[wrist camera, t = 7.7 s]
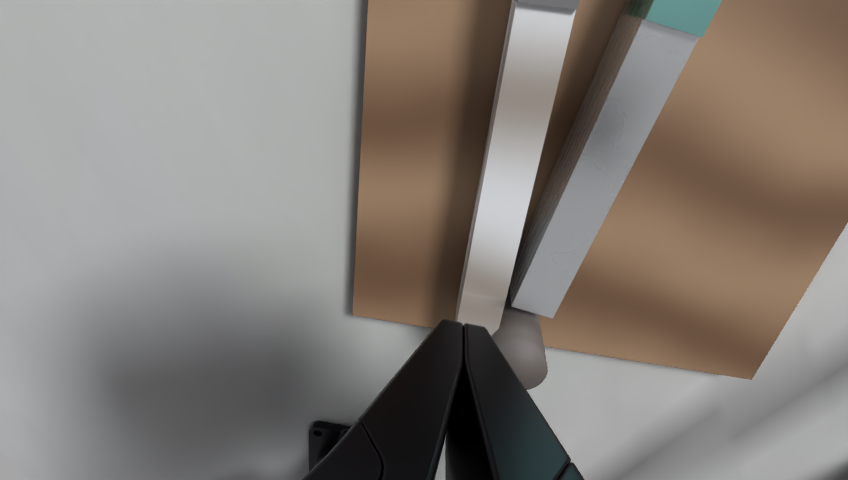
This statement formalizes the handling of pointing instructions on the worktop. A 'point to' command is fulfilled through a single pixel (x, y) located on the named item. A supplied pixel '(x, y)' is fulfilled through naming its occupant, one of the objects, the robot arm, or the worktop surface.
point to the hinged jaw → (604, 143)
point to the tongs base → (636, 200)
